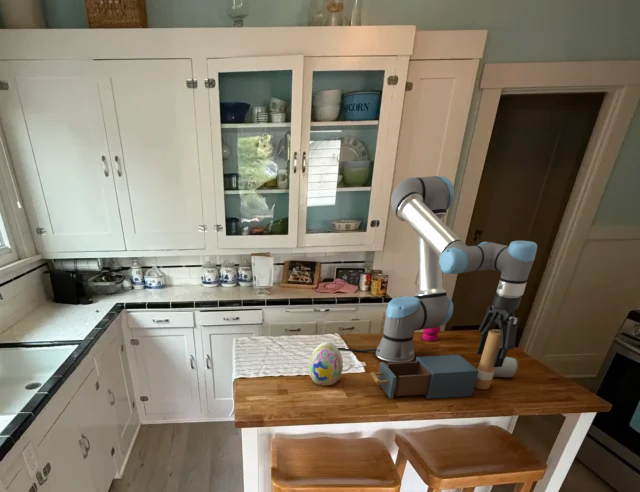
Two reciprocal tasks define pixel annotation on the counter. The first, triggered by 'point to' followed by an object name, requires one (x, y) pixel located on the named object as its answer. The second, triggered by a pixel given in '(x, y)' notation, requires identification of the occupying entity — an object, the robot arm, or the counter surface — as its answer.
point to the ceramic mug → (507, 368)
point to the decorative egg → (326, 364)
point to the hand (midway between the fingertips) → (488, 360)
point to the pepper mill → (431, 334)
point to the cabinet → (449, 376)
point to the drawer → (403, 378)
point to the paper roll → (488, 360)
